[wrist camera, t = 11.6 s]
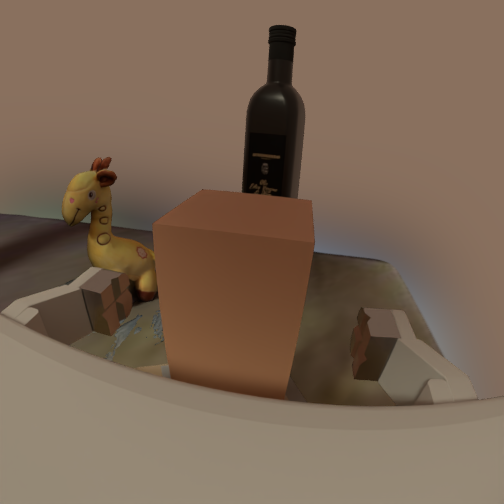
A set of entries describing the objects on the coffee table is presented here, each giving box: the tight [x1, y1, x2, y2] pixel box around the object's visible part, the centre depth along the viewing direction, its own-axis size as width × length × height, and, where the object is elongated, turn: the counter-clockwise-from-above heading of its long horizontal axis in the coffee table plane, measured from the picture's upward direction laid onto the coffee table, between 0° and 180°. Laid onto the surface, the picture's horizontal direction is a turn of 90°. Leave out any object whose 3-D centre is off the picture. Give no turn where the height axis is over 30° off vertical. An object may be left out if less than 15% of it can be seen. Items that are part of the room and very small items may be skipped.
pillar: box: [152, 189, 315, 400], centre depth 12 cm, size 4×4×10 cm
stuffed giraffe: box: [59, 157, 164, 361], centre depth 28 cm, size 16×18×16 cm
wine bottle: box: [242, 25, 305, 199], centre depth 32 cm, size 6×6×30 cm
